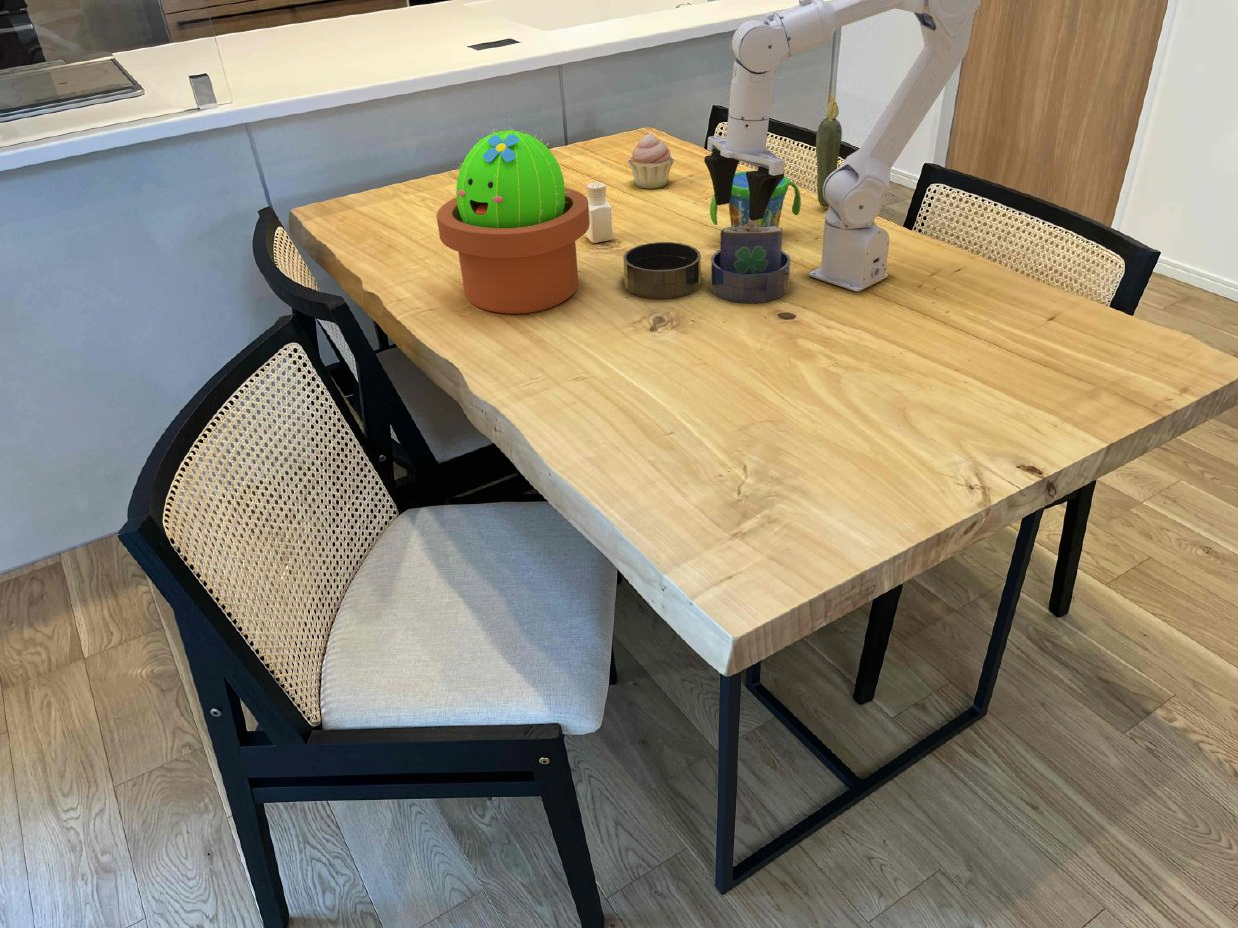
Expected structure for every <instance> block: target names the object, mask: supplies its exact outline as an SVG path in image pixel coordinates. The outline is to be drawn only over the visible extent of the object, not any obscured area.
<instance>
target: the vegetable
mask: <svg viewBox="0 0 1238 928" xmlns="http://www.w3.org/2000/svg"><path fill="white" fill-rule="evenodd" d="M828 97H829V98H828V101H827V103H828V104H827V108H826V111H825V116H826V117H825V118H823V119H822V120H821V122H819V123H820V124H819V125H818V128H817V131H816V139H815V156H816V170H817V171H816V174H817V175H816V176H817V177H816V190H817V191H816V192H817V201H818V203H819V206H820V207H822V209H823V210H825V209H829V204H828V203H827V202H826V201H825V199H824V197H823V185H824V182H825V180H826V179H827V177H828V176H829V175H830V174H831V173H832V172H833V171H835V170H836V169H838V162H839V155H840V149H841V143H842V139H843V128H842V124H841V123H840V121H839V120H838V119H837V118H838V116H839V114H840V112H839V111H840V109H839V105H838V102H837V101H836V96H835V95H834V94H833V93H830V94H829V95H828Z"/></svg>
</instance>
